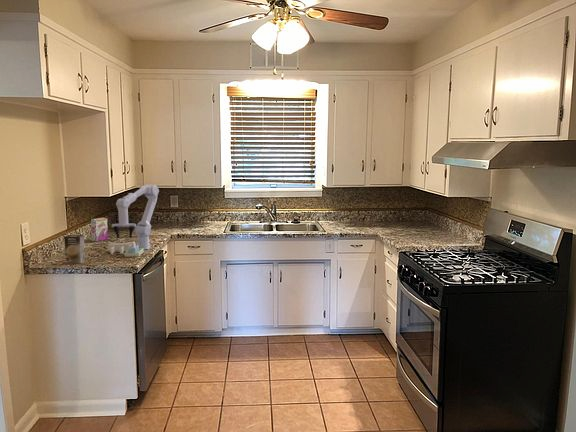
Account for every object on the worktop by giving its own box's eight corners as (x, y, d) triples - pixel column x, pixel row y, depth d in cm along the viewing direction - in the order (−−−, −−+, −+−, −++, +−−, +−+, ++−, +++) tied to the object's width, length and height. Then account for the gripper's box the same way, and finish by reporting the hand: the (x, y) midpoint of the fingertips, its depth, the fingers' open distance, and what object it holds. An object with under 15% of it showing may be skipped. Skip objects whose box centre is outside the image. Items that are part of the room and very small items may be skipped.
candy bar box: (96, 241, 325) (94, 219, 323) (91, 241, 328) (90, 219, 325) (108, 239, 335) (107, 217, 333) (104, 238, 337) (102, 217, 335)
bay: (109, 251, 295) (109, 243, 294) (130, 250, 296) (129, 243, 296) (105, 254, 286) (105, 246, 285) (126, 253, 288) (126, 245, 287)
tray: (130, 252, 292) (130, 248, 292) (143, 251, 293) (143, 248, 293) (124, 257, 278) (124, 253, 277) (138, 256, 279) (138, 252, 278)
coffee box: (65, 263, 261) (63, 236, 259) (70, 261, 267) (68, 234, 265) (81, 263, 261) (79, 236, 259) (85, 260, 267) (84, 234, 265)
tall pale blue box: (132, 251, 289) (132, 240, 288) (139, 251, 289) (138, 240, 288) (128, 255, 279) (128, 243, 278) (135, 255, 279) (134, 243, 278)
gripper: (110, 218, 281) (111, 239, 283) (133, 217, 283) (134, 238, 285) (113, 216, 288) (114, 237, 290) (136, 216, 290) (137, 236, 292)
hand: (124, 238), depth 288 cm, fingers open, 7 cm apart
